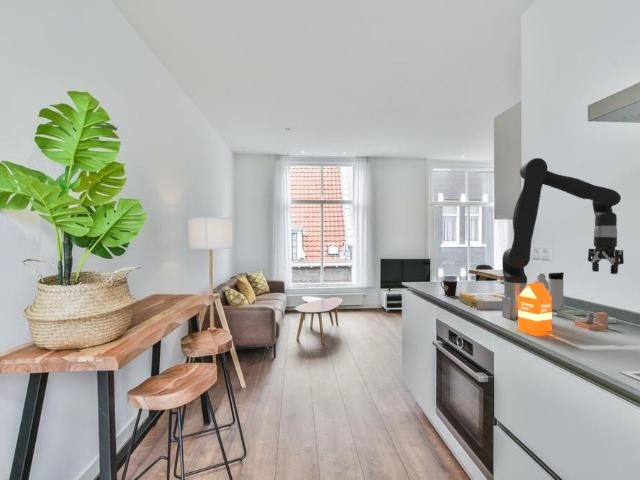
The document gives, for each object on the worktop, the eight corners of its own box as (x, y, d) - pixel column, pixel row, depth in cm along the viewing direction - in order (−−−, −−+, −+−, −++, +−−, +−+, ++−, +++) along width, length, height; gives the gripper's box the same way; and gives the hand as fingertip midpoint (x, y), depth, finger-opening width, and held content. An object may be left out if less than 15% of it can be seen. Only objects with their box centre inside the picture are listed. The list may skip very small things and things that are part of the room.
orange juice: (517, 330, 127) (518, 282, 127) (532, 328, 130) (532, 281, 130) (537, 336, 119) (537, 285, 119) (552, 333, 123) (552, 283, 122)
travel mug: (566, 312, 157) (566, 273, 157) (552, 311, 158) (552, 273, 158) (559, 309, 163) (559, 271, 163) (545, 308, 164) (545, 271, 164)
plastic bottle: (550, 313, 155) (550, 273, 155) (548, 315, 150) (548, 275, 150) (534, 311, 159) (534, 272, 159) (532, 313, 154) (532, 274, 154)
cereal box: (458, 292, 184) (504, 292, 185) (458, 301, 184) (504, 301, 185) (477, 300, 164) (528, 299, 165) (476, 310, 164) (528, 309, 165)
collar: (588, 330, 123) (588, 315, 123) (574, 325, 130) (574, 311, 130) (613, 330, 123) (613, 315, 123) (598, 325, 130) (598, 310, 130)
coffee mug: (459, 296, 198) (459, 281, 198) (446, 297, 198) (446, 281, 198) (452, 293, 209) (452, 279, 209) (439, 293, 210) (439, 279, 209)
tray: (582, 325, 133) (582, 318, 133) (556, 316, 148) (556, 310, 148) (616, 325, 133) (616, 318, 133) (587, 316, 148) (587, 310, 148)
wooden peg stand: (588, 334, 122) (588, 316, 122) (567, 326, 132) (568, 310, 132) (613, 334, 122) (613, 316, 121) (591, 326, 132) (591, 310, 131)
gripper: (582, 236, 143) (582, 270, 143) (612, 236, 129) (611, 274, 129) (598, 236, 143) (597, 271, 143) (630, 236, 129) (629, 274, 129)
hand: (604, 272), depth 136 cm, fingers open, 8 cm apart
